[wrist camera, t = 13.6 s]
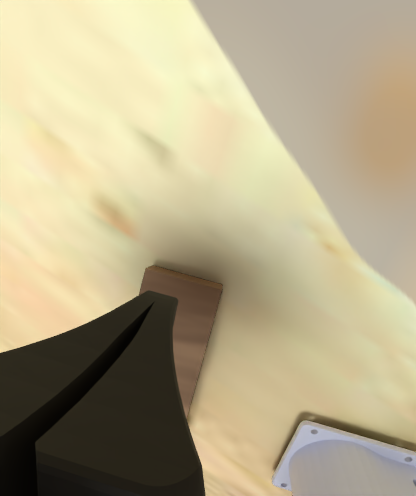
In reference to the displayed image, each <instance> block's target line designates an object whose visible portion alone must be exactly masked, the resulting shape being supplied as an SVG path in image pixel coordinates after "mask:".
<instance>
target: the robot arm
mask: <svg viewBox="0 0 416 496" xmlns="http://www.w3.org/2000/svg"><path fill="white" fill-rule="evenodd" d="M177 306H178V299H177V298H176V297H172V296H168V295H165V294H161V293H157V292H153V291H150V290H148V291H146V292H144V293H142V294H140V295H139V296H137V297H135V298H134V299H132V300H130V301H128V302H127V303H125V304H123V305H121V306H120V307H118V308H116V309H114V310H112V311H111V312H109V313H107V314H105V315H103V316H101V317H99V318H97V319H95V320H93V321H91V322H88V323H86V324H84V325H82V326H79V327H77V328H75V329H72V330H70V331H67V332H64V333H62V334H59V335H57V336H54V337H51V338H48V339H45V340H42V341H39V342H36V343H32V344H29V345H26V346H23V347H20V348H17V349H13V350H9V351H6V352H2V353H0V496H205V488H204V480H203V471H202V465H201V462H200V459H199V456H198V453H197V451H196V448H195V445H194V442H193V439H192V436H191V433H190V429H189V426H188V422H187V419H186V416H185V412H184V408H183V404H182V399H181V395H180V391H179V387H178V381H177V375H176V369H175V362H174V352H173V325H174V320H175V315H176V310H177ZM272 483H273V485H275V486H276V487H280V488H283V489H286V490H289V491H292V496H416V452H414V451H411V450H407V449H404V448H401V447H397V446H394V445H390V444H387V443H383V442H380V441H377V440H373V439H370V438H366V437H363V436H359V435H356V434H353V433H349V432H346V431H342V430H339V429H335V428H332V427H329V426H325V425H322V424H318V423H315V422H311V421H308V420H304V421H302V422H301V423H300V424H299V426H298V428H297V430H296V432H295V434H294V436H293V438H292V440H291V442H290V444H289V445H288V447H287V449H286V451H285V453H284V455H283V457H282V459H281V461H280V463H279V465H278V466H277V468H276V470H275V472H274V474H273V476H272Z"/></svg>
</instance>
